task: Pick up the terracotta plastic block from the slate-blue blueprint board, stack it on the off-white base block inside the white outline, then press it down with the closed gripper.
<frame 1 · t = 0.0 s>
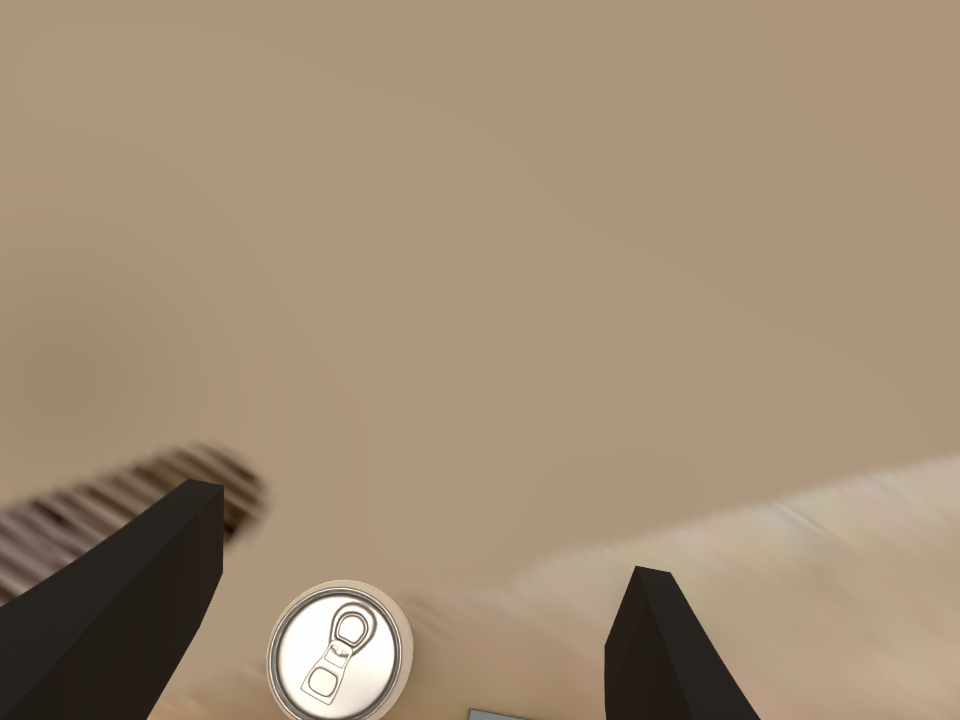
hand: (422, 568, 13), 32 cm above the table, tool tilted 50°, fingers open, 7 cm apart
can: (357, 648, 42), on the table
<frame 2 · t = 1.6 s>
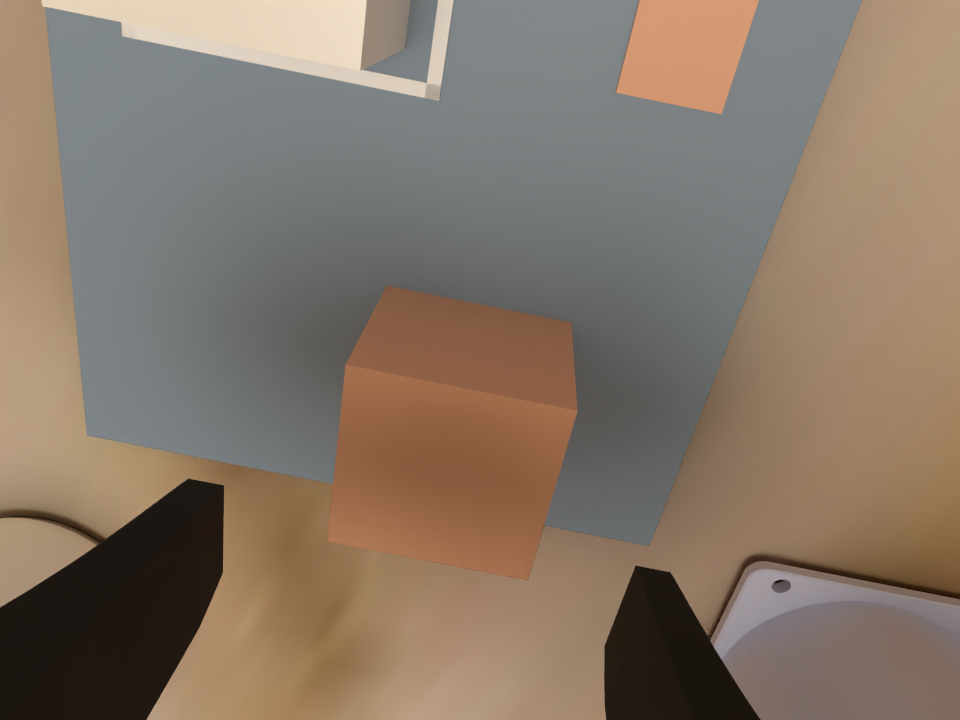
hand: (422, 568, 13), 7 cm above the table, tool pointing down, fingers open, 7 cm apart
terracotta block: (463, 383, 18), point 1 cm above the table, touching blueprint board
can: (58, 580, 24), on the table
blueprint board: (416, 167, 16), on the table
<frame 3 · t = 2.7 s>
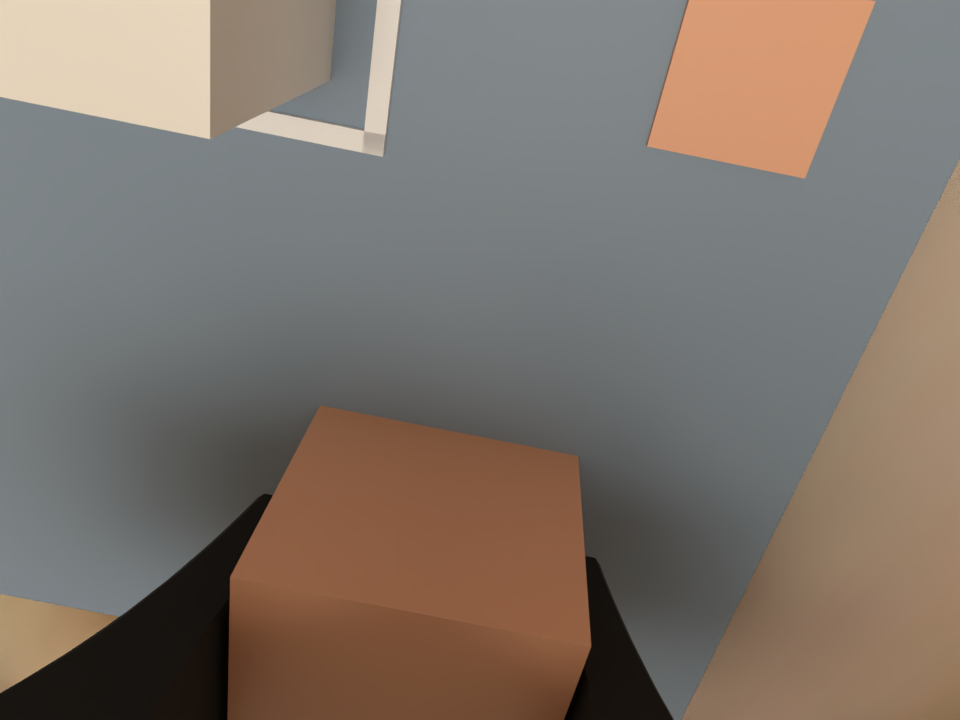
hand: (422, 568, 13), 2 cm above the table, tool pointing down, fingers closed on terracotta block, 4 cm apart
terracotta block: (430, 529, 13), point 1 cm above the table, touching blueprint board, gripper
blueprint board: (358, 245, 12), on the table
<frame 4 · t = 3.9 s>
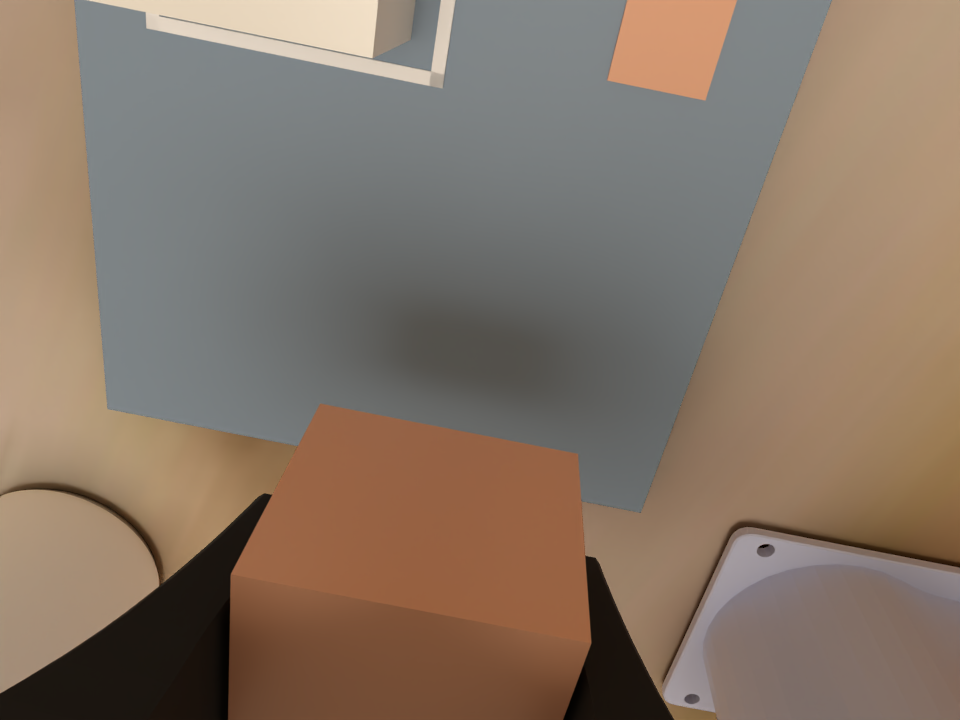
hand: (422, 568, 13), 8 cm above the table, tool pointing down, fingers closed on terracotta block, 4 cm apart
terracotta block: (430, 527, 13), point 7 cm above the table, touching gripper
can: (76, 551, 25), on the table
blueprint board: (421, 152, 18), on the table
when the fingers open (7 cm above the table, at t = 5.5 s): terracotta block drops 1 cm, resting on base block.
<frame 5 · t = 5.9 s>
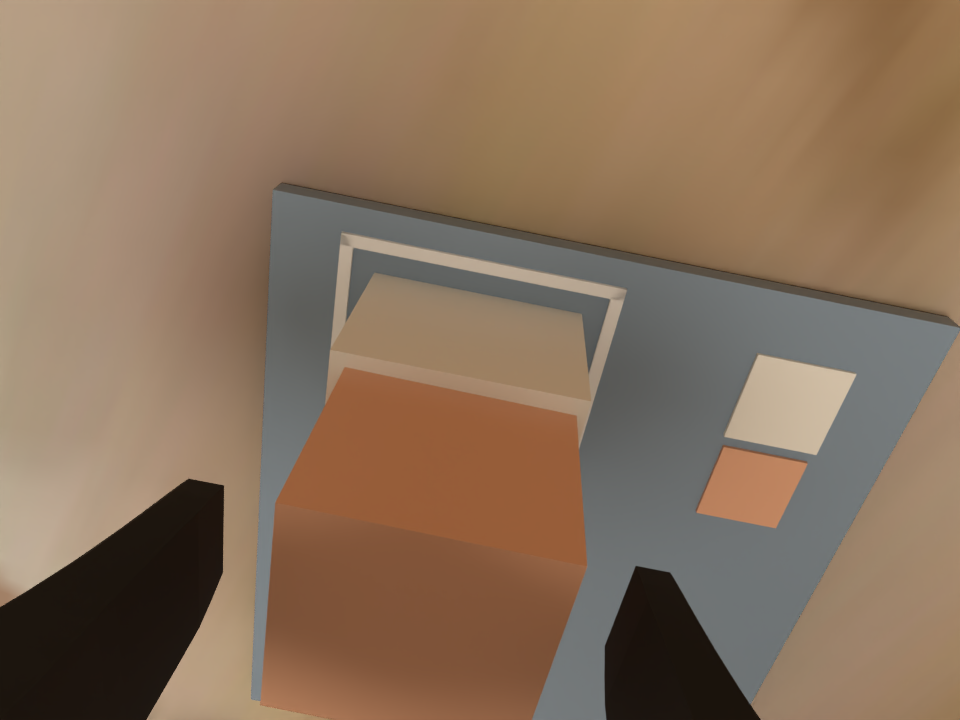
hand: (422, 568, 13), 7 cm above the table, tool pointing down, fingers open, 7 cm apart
base block: (460, 382, 18), point 1 cm above the table, touching blueprint board, terracotta block
terracotta block: (441, 483, 15), point 5 cm above the table, touching base block
blueprint board: (535, 536, 21), on the table
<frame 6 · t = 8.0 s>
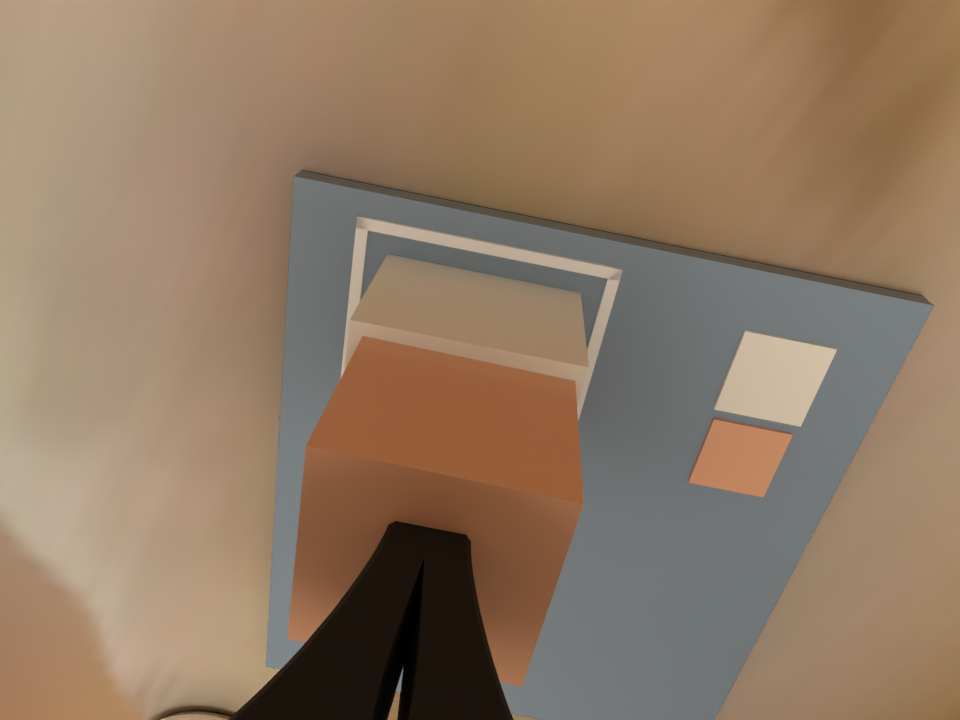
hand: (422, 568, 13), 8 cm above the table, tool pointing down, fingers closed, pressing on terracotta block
base block: (467, 358, 20), point 1 cm above the table, touching blueprint board, terracotta block
terracotta block: (450, 445, 16), point 5 cm above the table, touching base block, gripper
blueprint board: (536, 507, 22), on the table
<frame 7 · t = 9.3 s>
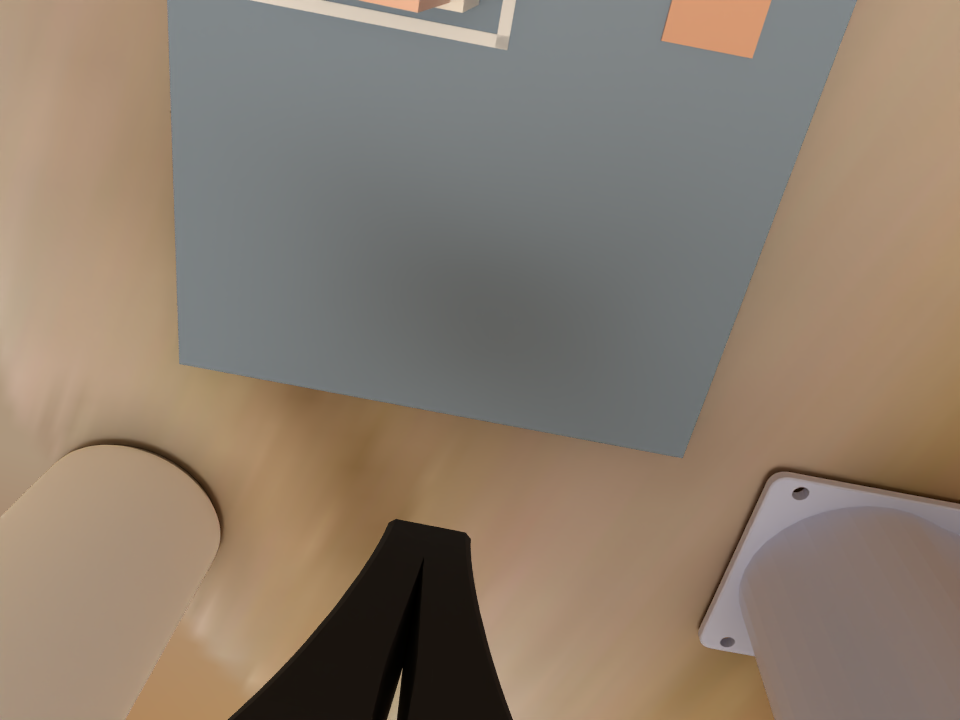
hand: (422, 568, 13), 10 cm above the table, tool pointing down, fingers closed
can: (140, 507, 26), on the table
blueprint board: (483, 112, 19), on the table
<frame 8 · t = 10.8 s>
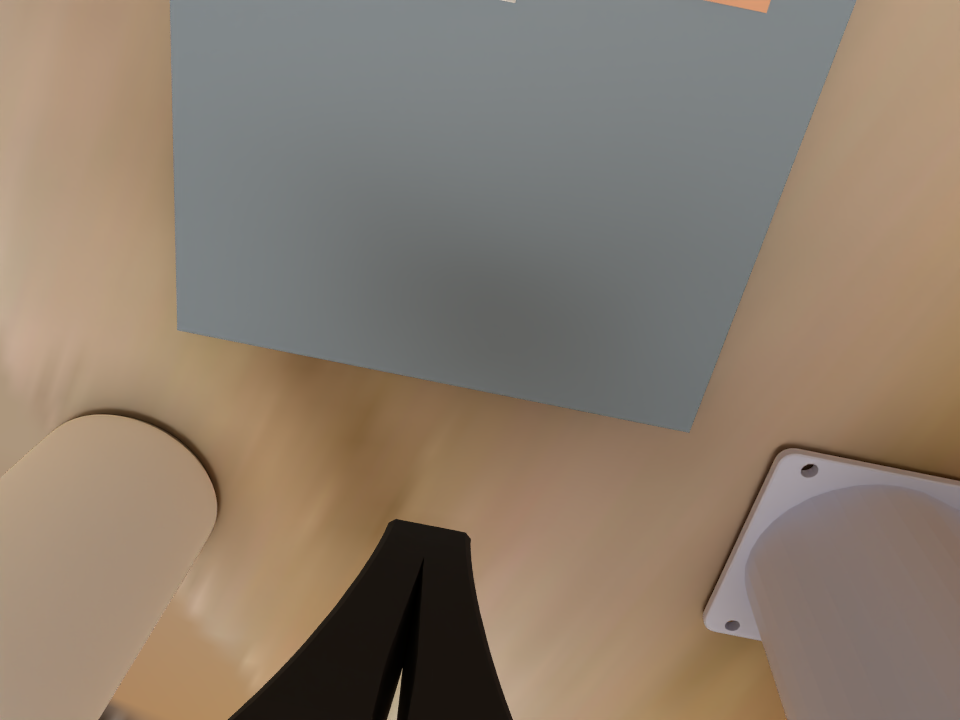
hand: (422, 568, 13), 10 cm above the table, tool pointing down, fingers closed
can: (137, 480, 26), on the table
blueprint board: (489, 70, 18), on the table
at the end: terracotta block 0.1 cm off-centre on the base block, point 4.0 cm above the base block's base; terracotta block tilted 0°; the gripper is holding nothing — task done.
